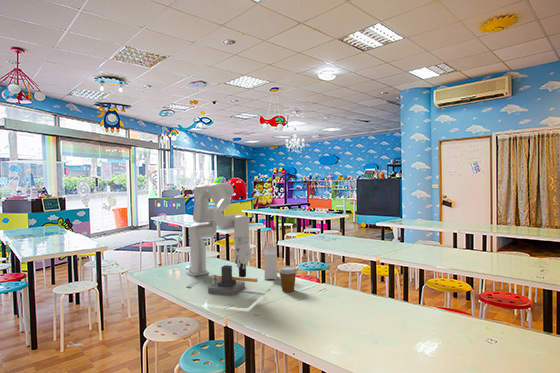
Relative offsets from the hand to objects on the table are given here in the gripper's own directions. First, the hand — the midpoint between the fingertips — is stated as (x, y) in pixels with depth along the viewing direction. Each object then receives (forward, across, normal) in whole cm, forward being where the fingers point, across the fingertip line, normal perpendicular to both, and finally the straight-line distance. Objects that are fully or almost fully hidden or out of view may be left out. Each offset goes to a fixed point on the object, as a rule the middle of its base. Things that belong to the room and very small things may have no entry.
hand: (242, 276), depth 162 cm
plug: (+8, +3, +10) cm, 14 cm away
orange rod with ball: (+4, +6, +8) cm, 11 cm away
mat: (+9, +11, +28) cm, 32 cm away
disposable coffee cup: (+10, +14, -20) cm, 26 cm away
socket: (+10, +3, +12) cm, 16 cm away
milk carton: (+10, +33, -4) cm, 35 cm away
